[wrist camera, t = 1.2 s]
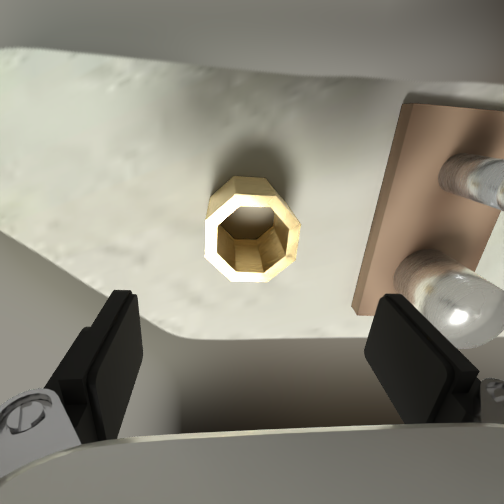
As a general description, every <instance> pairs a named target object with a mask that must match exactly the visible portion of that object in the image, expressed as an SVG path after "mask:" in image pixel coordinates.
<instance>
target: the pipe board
mask: <svg viewBox="0 0 504 504" xmlns="http://www.w3.org/2000/svg"><path fill="white" fill-rule="evenodd" d="M459 153H467V154H474V155H480V156H487V157H493V158H500V159H504V111H495V110H484V109H473V108H462V107H451V106H440V105H429V104H418V103H409V104H402V107H401V111H400V115H399V119H398V123H397V127H396V131H395V135H394V139H393V143H392V147H391V151H390V155H389V159H388V163H387V167H386V171H385V175H384V179H383V183H382V187H381V191H380V195H379V199H378V202H377V206H376V210H375V214H374V218H373V222H372V226H371V230H370V234H369V238H368V242H367V246H366V250H365V254H364V258H363V262H362V266H361V270H360V274H359V278H358V282H357V286H356V290H355V294H354V298H353V302H352V306H351V307H352V308H353V310H354V311H355V313H356V314H357V315H360V316H374V315H375V312H376V308H377V305H378V302H379V299H380V298H381V297H383V296H384V295H385V294H398V293H397V292H396V290H395V288H394V285H393V277H394V274H395V271H396V269H397V267H398V266H399V264H400V263H401V262H402V261H403V260H404V259H405V258H406V257H408V256H409V255H411V254H412V253H414V252H416V251H419V250H423V249H436V250H439V251H441V252H443V253H444V254H446V255H448V256H449V257H451V258H452V259H454V260H456V261H457V262H459V263H460V264H462V265H464V266H465V267H467V268H468V269H470V270H471V271H473V272H475V270H476V267H477V265H478V263H479V260H480V258H481V256H482V254H483V251H484V249H485V247H486V244H487V242H488V240H489V237H490V235H491V233H492V230H493V228H494V226H495V223H496V221H497V219H498V217H499V214H500V212H501V210H499V209H496V208H493V207H490V206H487V205H484V204H481V203H478V202H475V201H472V200H469V199H466V198H464V197H461V196H458V195H455V194H452V193H449V192H446V191H444V190H443V189H442V188H441V187H440V185H439V182H438V175H439V171H440V169H441V167H442V166H443V164H444V163H445V162H446V161H447V160H448V159H449V158H450V157H452V156H454V155H456V154H459Z"/></svg>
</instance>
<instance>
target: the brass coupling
mask: <svg viewBox="0 0 504 504" xmlns="http://www.w3.org/2000/svg"><path fill="white" fill-rule="evenodd" d="M239 206H254V207H271V208H272V209H273V211H274V221H273V226H272V227H271V228H270V229H268V230H267V231H266V232H265V233H264V234H262V235H261V236H260V237H259V238H258V239H256V240H250V239H234V238H233V237H232V236H231V235H230V234H229V233H228V232H227V231H226V230H225V229H224V228H223V227H222V226H221V225H220V223H221V222H222V221H223V220H224V219H225V218H226V217H228V216H229V215H230V214H231V213H232V212H233V211H234V210H236V209H237V208H238V207H239ZM205 222H206V252H205V258H207V259H208V260H209V261H210V262H211V263H212V264H213V265H215V266H216V267H217V268H218V269H219V270H220V271H221V272H222V273H223V274H224V275H225V276H226V277H227V278H228V279H230V281H248V282H268V281H269V280H270V279H272V278H273V277H274V276H276V275H277V274H278V273H279V272H281V271H282V270H283V269H285V268H286V267H287V266H288V265H290V264H291V263H292V262H294V261H295V260H296V253H297V247H298V240H299V233H300V226H301V224H300V222H299V221H298V219H297V218H296V216H295V215H294V214H293V212H292V211H291V209H290V208H289V206H288V205H287V203H286V202H285V201H284V200H283V199H282V198H281V196H280V195H279V194H278V193H277V192H276V191H275V189H274V188H273V187H272V186H271V185H270V183H269V182H268V181H267V179H266V178H265V177H264V178H258V177H242V176H233V177H232V178H231V179H230V180H229V181H228V182H226V183H225V184H224V185H223V186H222V187H221V188H220V189H219V190H218V191H217V192H215V193H214V194H213V195H212V196H211V197H210V200H209V205H208V210H207V215H206V220H205Z"/></svg>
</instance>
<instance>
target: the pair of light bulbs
mask: <svg viewBox="0 0 504 504" xmlns="http://www.w3.org/2000/svg"><path fill="white" fill-rule="evenodd" d="M438 182H439V185H440V187H441V188H442V189H443V190H444V191H446V192H449V193H452V194H455V195H458V196H461V197H464V198H466V199H469V200H472V201H475V202H478V203H481V204H484V205H487V206H490V207H493V208H496V209H499V210H502V211H504V159H500V158H493V157H487V156H480V155H474V154H467V153H459V154H456V155H454V156H452V157H450V158H449V159H448V160H447V161H446V162H445V163H444V164H443V166H442V167H441V169H440V171H439V175H438ZM393 285H394V288H395V290H396V292H397V293H398V294H402V295H403V296H404V297H405V298H406V299H407V300H408V301H409V302H410V303H411V304H412V305H413V306H414V307H415V308H416V309H417V310H418V311H419V312H420V313H421V314H422V315H423V316H424V317H425V318H426V319H427V320H428V321H429V322H430V323H431V324H432V325H433V326H434V327H436V328H437V329H438V330H439V331H440V332H441V333H442V334H443V335H444V336H445V337H446V338H447V339H448V340H449V341H450V342H451V343H452V344H453V345H454V346H455V347H456V348H459V349H468V348H474V347H477V346H480V345H483V344H485V343H487V342H489V341H491V340H492V339H494V338H495V337H497V336H498V335H499V334H500V333H501V332H502V331H503V330H504V291H503V290H502V289H500V288H499V287H497V286H495V285H494V284H492V283H491V282H489V281H487V280H486V279H484V278H483V277H481V276H479V275H478V274H476V273H475V272H473V271H471V270H470V269H468V268H467V267H465V266H464V265H462V264H460V263H459V262H457V261H456V260H454V259H452V258H451V257H449V256H448V255H446V254H444V253H443V252H441V251H439V250H436V249H423V250H419V251H416V252H414V253H412V254H411V255H409V256H408V257H406V258H405V259H404V260H403V261H402V262H401V263H400V264H399V266H398V267H397V269H396V271H395V274H394V277H393Z"/></svg>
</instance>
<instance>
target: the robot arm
mask: <svg viewBox="0 0 504 504" xmlns="http://www.w3.org/2000/svg"><path fill="white" fill-rule="evenodd" d="M364 354H365V358H366V360H367V361H368V363H369V365H370V366H371V368H372V370H373V371H374V373H375V375H376V376H377V378H378V380H379V381H380V383H381V385H382V386H383V388H384V390H385V392H386V393H387V395H388V397H389V398H390V400H391V402H392V403H393V405H394V407H395V408H396V410H397V412H398V413H399V415H400V417H401V419H402V420H403V422H404V423H405V424H399V425H373V426H372V425H371V426H344V427H319V428H298V429H297V428H295V429H274V430H273V429H272V430H251V431H231V432H230V431H229V432H209V433H190V434H189V433H188V434H172V435H157V436H141V437H129V438H121V439H117V436H118V433H119V430H120V427H121V424H122V421H123V418H124V415H125V412H126V408H127V406H128V403H129V400H130V396H131V393H132V390H133V387H134V384H135V381H136V378H137V375H138V372H139V368H140V366H141V362H142V358H143V347H142V337H141V327H140V317H139V307H138V298H137V295H136V294H132V292H131V290H114V291H113V292H112V293H111V295H110V297H109V298H108V300H107V301H106V303H105V305H104V306H103V308H102V309H101V311H100V313H99V314H98V316H97V318H96V319H95V321H94V322H93V324H92V326H91V327H85V328H83V329H82V331H81V332H80V333H79V335H78V337H77V338H76V340H75V341H74V343H73V344H72V346H71V347H70V349H69V350H68V352H67V353H66V355H65V356H64V358H63V360H62V361H61V362H60V364H59V366H58V367H57V369H56V370H55V372H54V373H53V375H52V377H51V378H50V379H49V381H48V383H47V384H46V386H45V387H44V389H42V388H38V389H33V390H28V391H25V392H23V393H20V394H18V395H16V396H14V397H12V398H10V399H9V400H7V401H6V402H5V403H3V404H2V405H1V406H0V504H504V381H503V380H500V379H495V378H486V379H484V380H482V381H480V380H479V379H478V378H477V375H478V373H479V370H478V369H477V368H476V367H475V366H474V365H473V364H472V363H471V362H470V361H469V360H468V359H467V358H466V357H465V356H464V355H463V354H462V353H461V352H460V351H459V350H458V349H457V348H456V347H455V346H454V345H453V344H452V343H451V342H450V341H449V340H448V339H447V338H446V337H445V336H444V335H443V334H442V333H441V332H440V331H439V330H438V329H437V328H436V327H434V326H433V325H432V324H431V323H430V322H429V321H428V320H427V319H426V318H425V317H424V316H423V315H422V314H421V313H420V312H419V311H418V310H417V309H416V308H415V307H414V306H413V305H412V304H411V303H410V302H409V301H408V300H407V299H406V298H405V297H404V296H403V295H402V294H385V295H384V296H383V297H381V298H380V299H379V302H378V305H377V308H376V312H375V315H374V319H373V322H372V325H371V329H370V332H369V335H368V339H367V342H366V346H365V349H364Z"/></svg>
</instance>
